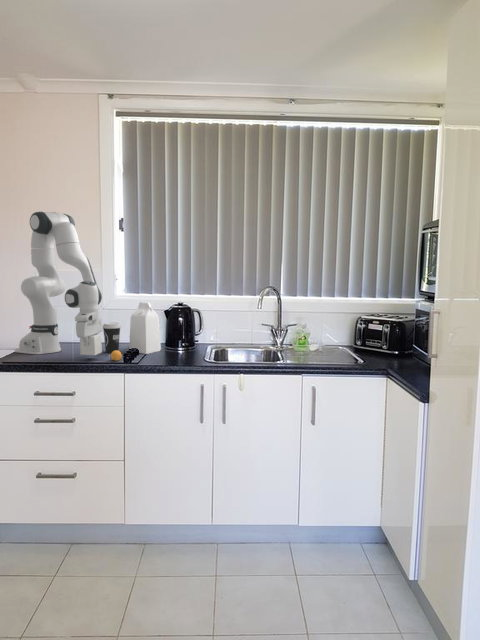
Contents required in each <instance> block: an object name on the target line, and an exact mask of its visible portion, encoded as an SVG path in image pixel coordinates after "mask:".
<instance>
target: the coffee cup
mask: <svg viewBox="0 0 480 640" xmlns="http://www.w3.org/2000/svg"><path fill="white" fill-rule="evenodd" d="M102 325H103V330H102V332H103V337H104V338H103V339H104V349H105V353H106V354H107V353H110V354H111V353H112V352H113V351H115V350H118V351H120V349H119V347H120V337H121V335H120V334H121V328H122V326H121V324H120V322H115V321H114V322H113V321H111V322H103V324H102Z"/></svg>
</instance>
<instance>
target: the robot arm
mask: <svg viewBox="0 0 480 640" xmlns="http://www.w3.org/2000/svg"><path fill="white" fill-rule="evenodd" d="M29 225H30V226H29V227H30V229H31V230H32V233H31V237H30V238H31V241H30V255H31V258H30V259H31V264H32V266H33V267H34V268H35V269H36V271H37V273H38V276H30V277H28V278H25V279H24V280H23V281H22V282H21V285H20V290H21V293H22V294H23V296H24V297H26V298H27V299H28V302H29V303H30V305H31V308H32V314H33V315H32V316H33V324H31V325H30V326H28V327H29V328H28V329H30V332H28V333H27V334H26V335H25V336H23V337H21V339H20V340H19V345H18V348H15V349H14V353H19V354H20V353H21V354H30V355H42V354H52V353H58V352H61V351H62V348H61V345H60V341H59V335H58V334H59V324H58V319H57V318H58V317H57V308H56V307H55V306H54V305H53V304H52V303H51V301H50V300H51V299H50V298H53V297H54V298H55V297H57V296H59V295H62V294H64V292H65V290H66V287H67V286H66V282H65V281H64V279H63V278H62V277H61V275H60V274H59V272H58V269H57V265H56V254H57V256H58V258H59V260H61V261H62V262H63V263H66V264H68V265H70V266H71V267H74V268H75V269H77V270H78V271H79V273H80V274H81V277H82V281H80V282H79V284H78V285H77V286H74V287H72V288H69V289H67V290H66V292H65V294H64V302H65V304H66V306H67V307H68V308H71V309H77V308H78V309H79V312H78V313H77V315H76V316H75V317H74V320H75V331H76V332H75V334H76V337H77V338H79V339H80V338H82V339H83V342H84V346H88V345H89V342H88V340H87V339H88V336H91V335H94V334H100V333H101V332H103V325H104V324H103V320H102V319H103V318H102V317H101V316H100V308H99V307H100V306H99V305H100V303H101V302H102V298H103V296H102V293H101V290H100V288H99V286H98V283H97V280H96V278H95V274H94V271H93V267H92V265H91V263H90V259H89V258H88V257H87V256H86V255H85V254H84V252H83V250H82V247H81V242H80V239H79V235H78V232H77V230H76V223H75V220H74V218H73V217H72V216H71V215H69V214H66V213H60V212H56V211H55V212H54V211H51V212H50V211H35V212H33V213H32V214H31V216H30V217H29ZM55 248H56V249H55Z"/></svg>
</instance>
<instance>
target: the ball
mask: <svg viewBox="0 0 480 640" xmlns="http://www.w3.org/2000/svg"><path fill="white" fill-rule="evenodd" d="M110 358H111V360H112V361H115V362H117V361H120V360H121V359H122V352H121V351H120V350H119V351H118V350H115V351H113V352H112V353H110Z"/></svg>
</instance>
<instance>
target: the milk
mask: <svg viewBox="0 0 480 640" xmlns="http://www.w3.org/2000/svg"><path fill="white" fill-rule="evenodd" d="M129 325H130V326H129V346H128V348H129V349H131V348H137V349H138V350H139V354H145V355H148V354H152V353H156V352H160V350H161V351H162V345H161V344H162V343H161V342H162V341H161V327H160V317H159V314H158V313H157V312H156V311H155V310H154V309H153V308H152V305H151V303H150V302H147V301H145V302H144V301H139V303H138V306H137V308H136V309H135V310H134V312H133V313H132V314H131V315H130V324H129ZM129 349H128V350H129Z"/></svg>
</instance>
